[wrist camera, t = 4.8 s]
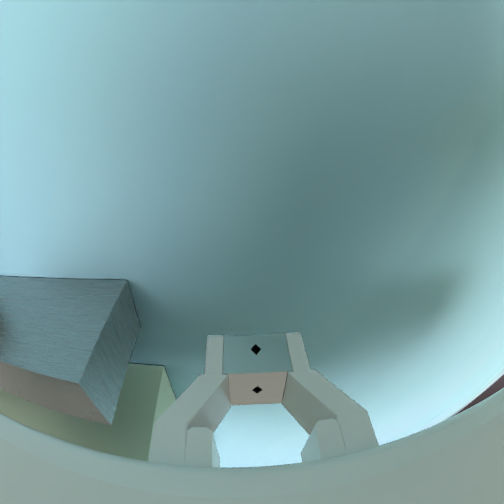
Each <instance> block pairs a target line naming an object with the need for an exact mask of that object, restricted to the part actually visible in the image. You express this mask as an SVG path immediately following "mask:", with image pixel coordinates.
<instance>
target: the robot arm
mask: <svg viewBox="0 0 504 504" xmlns="http://www.w3.org/2000/svg"><path fill="white" fill-rule="evenodd" d="M270 403H282V405H283V406H284V407H285V408H286V409H287V410H288V412H289V413H290V414H291V415H292V416H293V417H294V418H295V419H296V421H297V422H298V423H299V424H300V425H301V426H302V427H303V428H304V429H305V431H306V432H307V433H308V434H309V435H310V436H309V438H308V440H307V442H306V444H305V446H304V448H303V450H302V452H301V457H302V462H301V463H293V464H284V465H274V466H261V467H232V468H225V467H220V457H219V454H218V450H217V447H216V443H215V439H214V436H213V433H214V431H215V430H216V428H217V427H218V425H219V424H220V422H221V421H222V419H223V418H224V416H225V415H226V413H227V412H228V410H229V409H230V407H231V405H248V404H270ZM0 504H504V388H503V389H501V390H500V391H498V392H496V393H495V394H493V395H492V396H490V397H488V398H487V399H485V400H483V401H482V402H480V403H478V404H476V405H474V406H473V407H471V408H469V409H467V410H465V411H463V412H461V413H459V414H457V415H455V416H453V417H451V418H449V419H447V420H445V421H443V422H441V423H438V424H436V425H434V426H432V427H429V428H427V429H424V430H422V431H419V432H417V433H414V434H412V435H409V436H406V437H403V438H401V439H398V440H395V441H392V442H389V443H386V444H382V445H378V442H377V439H376V436H375V433H374V430H373V427H372V424H371V421H370V418H369V415H368V412H367V410H365V409H364V408H363V407H362V406H360V405H359V404H358V403H356V402H355V401H354V400H353V399H351V398H350V397H349V396H348V395H346V394H345V393H344V392H343V391H341V390H340V389H339V388H338V387H336V386H335V385H334V384H333V383H331V382H330V381H329V380H328V379H326V378H325V377H324V376H323V375H322V374H320V373H319V372H318V371H317V370H316V369H313V370H311V369H310V365H309V361H308V357H307V354H306V350H305V347H304V343H303V339H302V336H301V333H300V332H292V333H277V334H258V335H208V337H207V345H206V357H205V370H204V374H199V376H198V377H197V378H196V379H195V380H194V381H193V382H192V383H191V384H190V385H189V386H188V387H187V389H186V390H185V391H184V392H183V393H182V394H181V395H180V396H179V397H178V398H177V399H176V400H175V401H174V402H173V403H172V405H171V406H170V407H169V408H168V409H167V410H166V411H165V412H164V413H163V414H162V415H161V416H160V417H159V418H158V419H157V420H156V421H155V422H154V428H153V434H152V441H151V448H150V455H149V461H143V460H137V459H131V458H126V457H122V456H117V455H112V454H108V453H104V452H100V451H96V450H93V449H89V448H86V447H82V446H79V445H76V444H73V443H70V442H67V441H64V440H61V439H58V438H55V437H53V436H50V435H48V434H45V433H43V432H40V431H38V430H35V429H33V428H31V427H28V426H26V425H24V424H22V423H20V422H18V421H16V420H14V419H12V418H10V417H8V416H6V415H4V414H2V413H0Z"/></svg>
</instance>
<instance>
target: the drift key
mask: <svg viewBox="0 0 504 504" xmlns="http://www.w3.org/2000/svg"><path fill="white" fill-rule="evenodd" d="M140 328H141V326H140V323H139V319H138V316H137V313H136V310H135V306H134V303H133V299H132V296H131V292H130V289H129V285H128V281H127V280H98V279H60V278H34V277H12V276H0V389H1V390H3V391H5V392H7V393H10V394H12V395H14V396H17V397H19V398H21V399H24V400H26V401H29V402H32V403H34V404H37V405H40V406H43V407H45V408H48V409H51V410H54V411H57V412H61V413H64V414H67V415H71V416H74V417H78V418H82V419H85V420H89V421H94V422H98V423H102V424H107V425H112V422H113V418H114V414H115V410H116V406H117V402H118V399H119V395H120V391H121V388H122V385H123V381H124V378H125V374H126V371H127V368H128V365H129V361H130V358H131V355H132V352H133V349H134V346H135V343H136V340H137V337H138V334H139V331H140Z"/></svg>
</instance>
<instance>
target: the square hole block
mask: <svg viewBox="0 0 504 504" xmlns="http://www.w3.org/2000/svg"><path fill="white" fill-rule="evenodd" d="M175 400H176V397H175V395H174V392H173V390H172V387H171V384H170V382H169V379H168V376H167V374H166V371H165V368H164V366H156V365H143V364H132V363H129V365H128V368H127V371H126V374H125V378H124V381H123V385H122V388H121V391H120V395H119V399H118V402H117V406H116V410H115V414H114V418H113V422H112V425H107V424H102V423H98V422H94V421H89V420H85V419H82V418H78V417H74V416H71V415H67V414H64V413H61V412H57V411H54V410H51V409H48V408H45V407H43V406H40V405H37V404H34V403H32V402H29V401H26V400H24V399H21V398H19V397H17V396H14V395H12V394H10V393H7V392H5V391H3V390H1V389H0V413H2V414H4V415H6V416H8V417H10V418H12V419H14V420H16V421H18V422H20V423H22V424H24V425H26V426H28V427H31V428H33V429H35V430H38V431H40V432H43V433H45V434H48V435H50V436H53V437H55V438H58V439H61V440H64V441H67V442H70V443H73V444H76V445H79V446H82V447H86V448H89V449H93V450H96V451H100V452H104V453H108V454H112V455H117V456H122V457H126V458H131V459H137V460H143V461H149V455H150V448H151V441H152V434H153V428H154V422H155V421H156V420H157V419H158V418H159V417H160V416H161V415H162V414H163V413H164V412H165V411H166V410H167V409H168V408H169V407H170V406H171V405H172V403H173V402H174V401H175Z"/></svg>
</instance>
